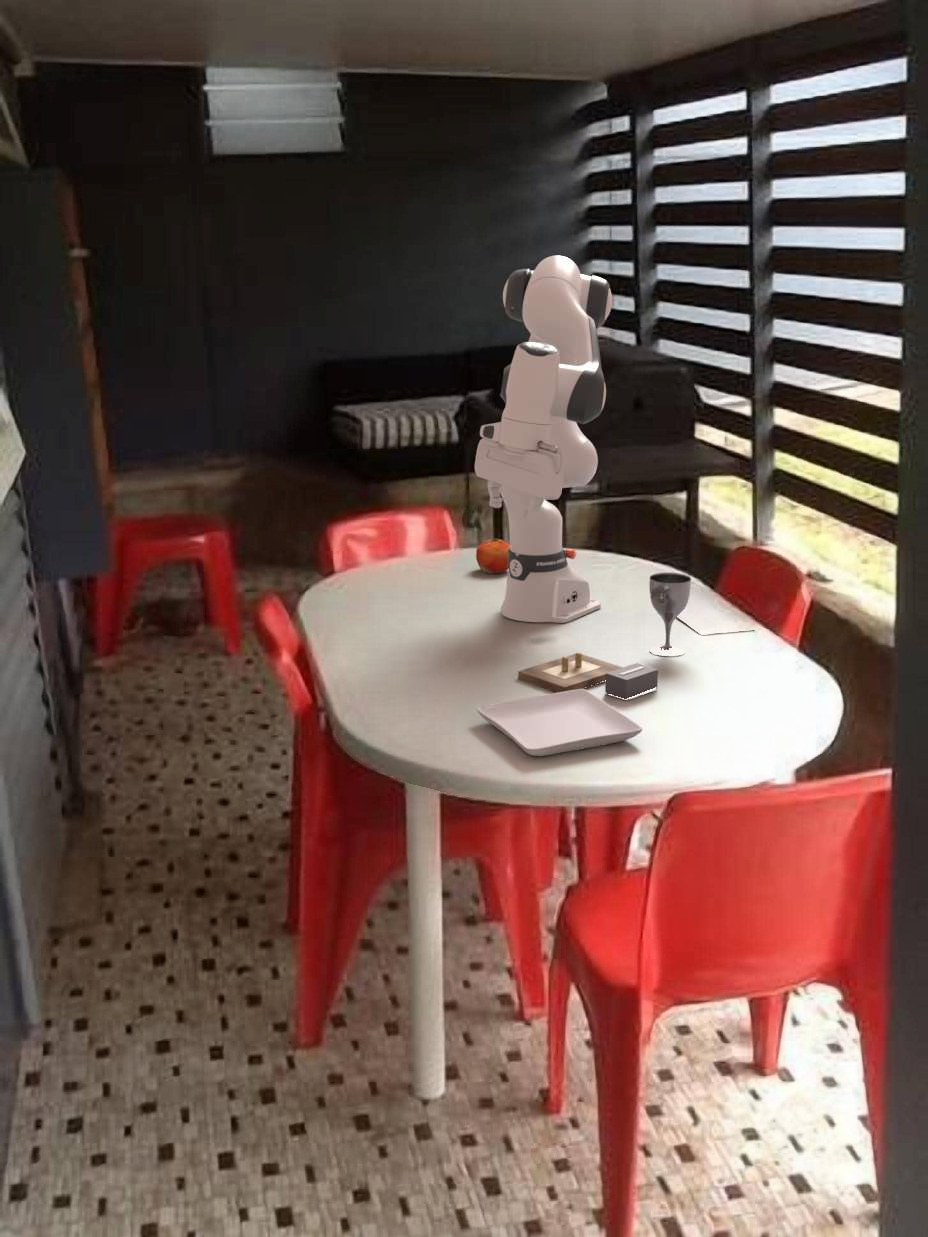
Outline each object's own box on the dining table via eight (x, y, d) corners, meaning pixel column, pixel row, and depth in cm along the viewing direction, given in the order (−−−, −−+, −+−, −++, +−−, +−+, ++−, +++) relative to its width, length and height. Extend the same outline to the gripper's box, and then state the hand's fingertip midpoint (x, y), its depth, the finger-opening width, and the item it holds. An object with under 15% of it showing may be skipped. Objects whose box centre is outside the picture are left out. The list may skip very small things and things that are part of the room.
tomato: (500, 578, 323) (501, 545, 320) (468, 572, 327) (468, 540, 325) (521, 569, 330) (521, 537, 328) (488, 564, 335) (488, 532, 332)
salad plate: (528, 768, 215) (528, 748, 214) (473, 723, 233) (473, 704, 232) (645, 747, 223) (646, 727, 222) (583, 705, 241) (583, 687, 240)
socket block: (636, 683, 251) (637, 662, 250) (657, 690, 248) (658, 668, 246) (605, 694, 246) (605, 672, 245) (626, 701, 242) (626, 679, 241)
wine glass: (695, 651, 269) (699, 577, 265) (672, 660, 264) (675, 585, 259) (662, 642, 275) (665, 570, 270) (638, 651, 269) (641, 578, 265)
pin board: (577, 660, 264) (578, 639, 263) (624, 675, 256) (625, 654, 254) (518, 678, 254) (518, 657, 253) (564, 695, 245) (565, 673, 244)
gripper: (577, 448, 235) (563, 527, 238) (501, 426, 250) (489, 500, 253) (550, 447, 231) (537, 527, 234) (474, 424, 246) (463, 500, 249)
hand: (511, 513), depth 244 cm, fingers open, 8 cm apart
